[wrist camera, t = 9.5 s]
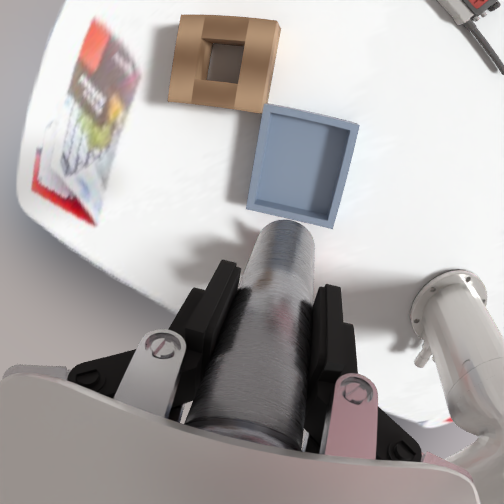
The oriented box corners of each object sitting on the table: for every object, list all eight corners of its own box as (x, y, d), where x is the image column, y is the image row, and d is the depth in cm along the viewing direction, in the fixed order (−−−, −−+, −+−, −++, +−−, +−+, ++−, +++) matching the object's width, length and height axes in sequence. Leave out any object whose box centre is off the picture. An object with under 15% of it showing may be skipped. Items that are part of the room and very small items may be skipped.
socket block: (265, 111, 33) (260, 113, 30) (181, 100, 34) (167, 101, 30) (280, 28, 28) (276, 20, 25) (194, 21, 29) (181, 14, 26)
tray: (331, 220, 38) (332, 229, 35) (250, 202, 38) (246, 209, 36) (356, 123, 32) (359, 125, 30) (267, 103, 33) (264, 103, 30)
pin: (322, 226, 16) (317, 466, 5) (307, 278, 17) (281, 503, 7) (261, 212, 16) (165, 431, 5) (251, 265, 17) (171, 477, 7)
